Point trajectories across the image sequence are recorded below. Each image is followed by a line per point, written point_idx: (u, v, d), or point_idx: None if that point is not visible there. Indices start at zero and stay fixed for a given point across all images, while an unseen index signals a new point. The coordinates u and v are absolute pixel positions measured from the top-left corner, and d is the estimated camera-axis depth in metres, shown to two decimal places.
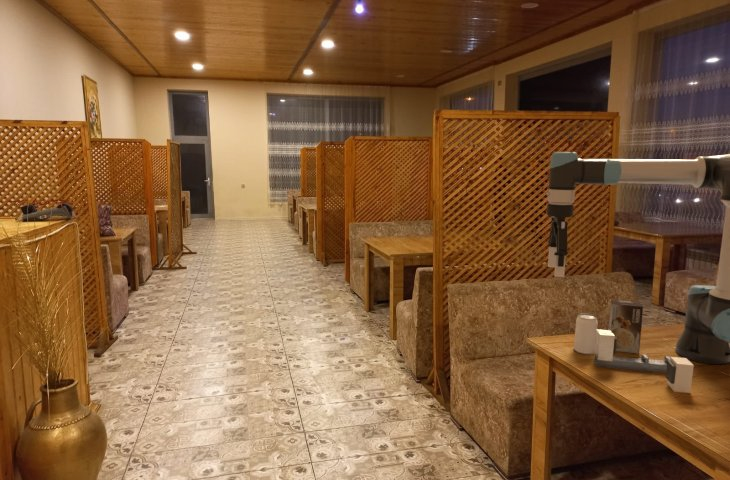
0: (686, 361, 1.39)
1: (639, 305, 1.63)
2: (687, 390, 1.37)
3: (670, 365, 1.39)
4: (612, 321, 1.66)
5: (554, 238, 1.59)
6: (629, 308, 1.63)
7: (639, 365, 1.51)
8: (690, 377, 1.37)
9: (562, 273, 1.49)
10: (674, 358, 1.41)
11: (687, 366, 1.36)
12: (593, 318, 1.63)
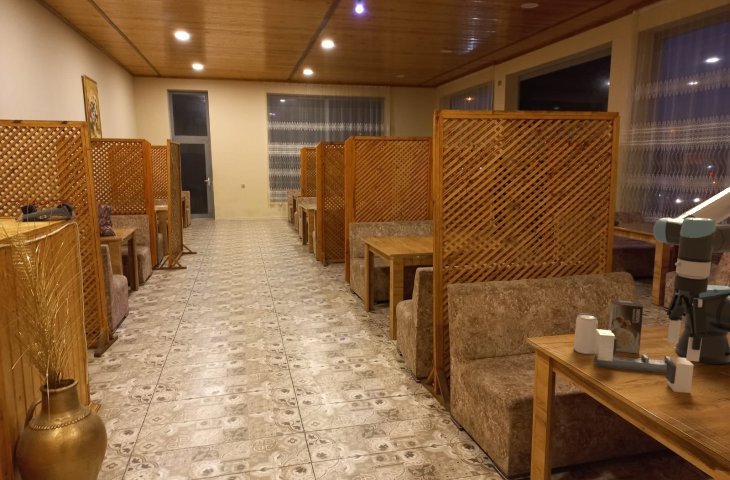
0: (686, 361, 1.39)
1: (639, 305, 1.63)
2: (687, 390, 1.37)
3: (670, 365, 1.39)
4: (612, 321, 1.66)
5: (678, 311, 1.41)
6: (629, 308, 1.63)
7: (639, 365, 1.51)
8: (690, 377, 1.37)
9: (696, 357, 1.31)
10: (674, 358, 1.41)
11: (687, 365, 1.36)
12: (593, 318, 1.63)
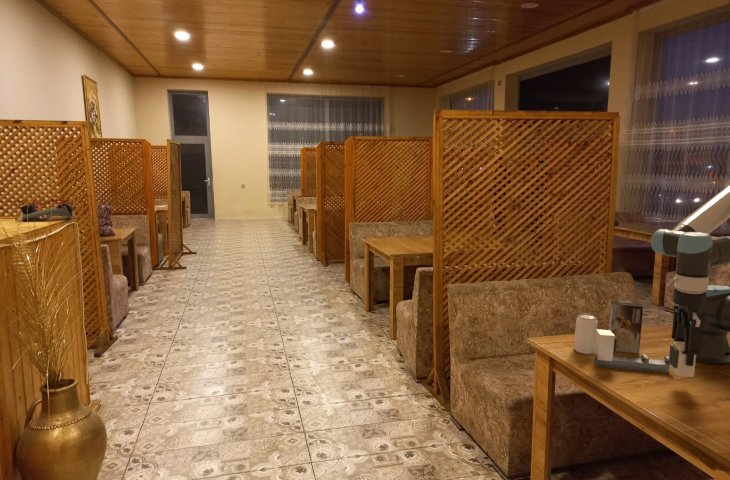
0: None
1: (639, 305, 1.63)
2: None
3: (673, 349, 1.39)
4: (612, 321, 1.66)
5: (681, 331, 1.40)
6: (629, 308, 1.63)
7: (639, 365, 1.51)
8: None
9: (690, 372, 1.36)
10: (677, 342, 1.40)
11: None
12: (593, 318, 1.63)
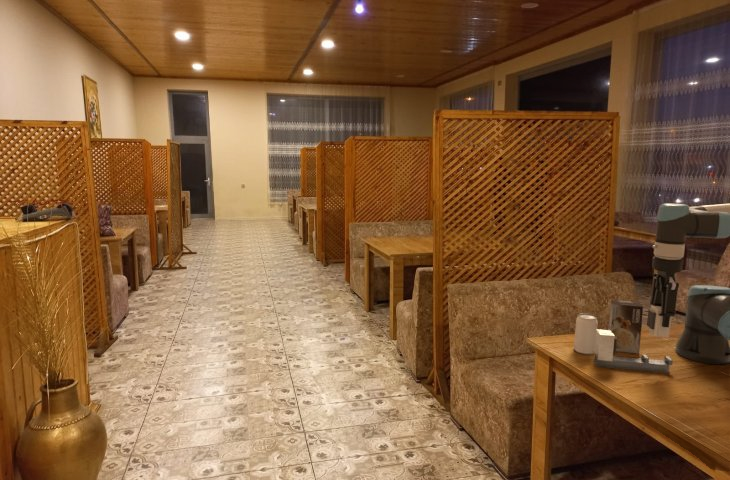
0: None
1: (639, 305, 1.63)
2: None
3: (651, 312, 1.50)
4: (612, 321, 1.66)
5: (659, 296, 1.51)
6: (629, 308, 1.63)
7: (639, 365, 1.51)
8: None
9: (666, 333, 1.47)
10: (655, 306, 1.51)
11: None
12: (593, 318, 1.63)
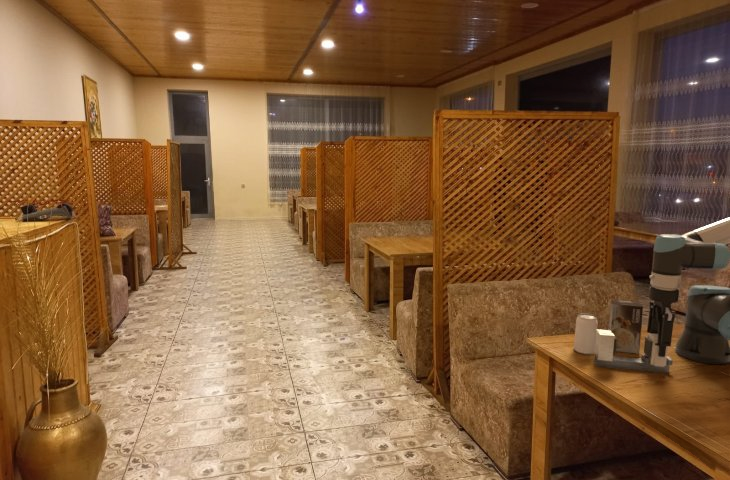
0: None
1: (639, 305, 1.63)
2: None
3: (647, 340, 1.51)
4: (612, 321, 1.66)
5: (655, 325, 1.52)
6: (629, 308, 1.63)
7: (639, 365, 1.51)
8: None
9: (662, 363, 1.48)
10: (651, 334, 1.52)
11: None
12: (593, 318, 1.63)
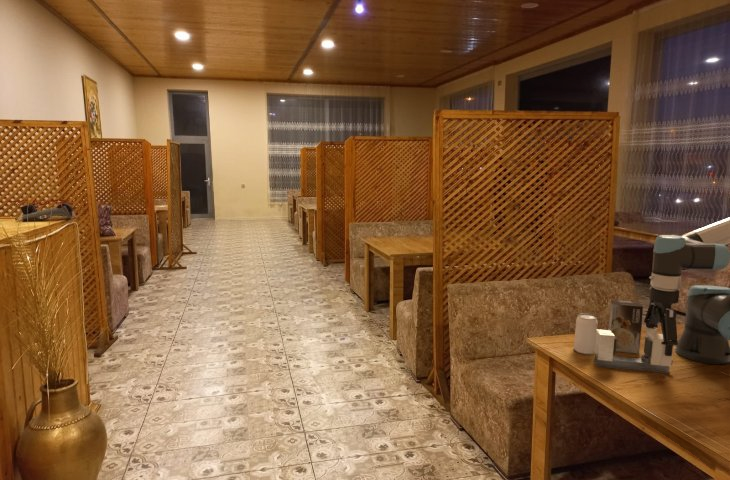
0: (662, 336, 1.50)
1: (639, 305, 1.63)
2: None
3: (647, 340, 1.51)
4: (612, 321, 1.66)
5: (653, 320, 1.55)
6: (629, 308, 1.63)
7: (639, 365, 1.51)
8: None
9: (669, 362, 1.44)
10: (651, 334, 1.52)
11: (663, 340, 1.48)
12: (593, 318, 1.63)
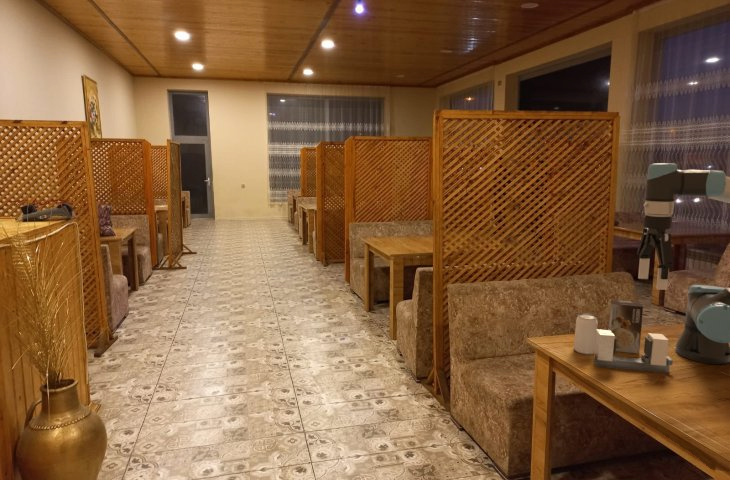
0: (662, 336, 1.50)
1: (639, 305, 1.63)
2: (663, 363, 1.49)
3: (647, 340, 1.51)
4: (612, 321, 1.66)
5: (647, 250, 1.58)
6: (629, 308, 1.63)
7: (639, 365, 1.51)
8: (665, 351, 1.48)
9: (665, 286, 1.47)
10: (651, 334, 1.52)
11: (663, 340, 1.48)
12: (593, 318, 1.63)
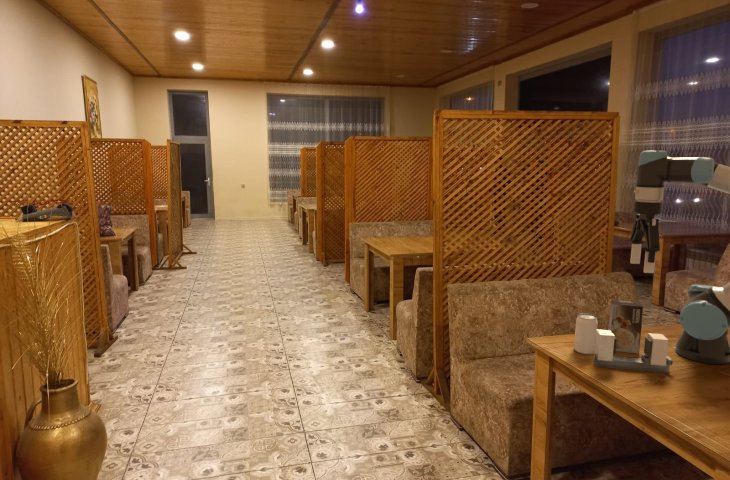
0: (662, 336, 1.50)
1: (639, 305, 1.63)
2: (663, 363, 1.49)
3: (647, 340, 1.51)
4: (612, 321, 1.66)
5: (638, 235, 1.63)
6: (629, 308, 1.63)
7: (639, 365, 1.51)
8: (665, 351, 1.48)
9: (652, 269, 1.52)
10: (651, 334, 1.52)
11: (663, 340, 1.48)
12: (593, 318, 1.63)
